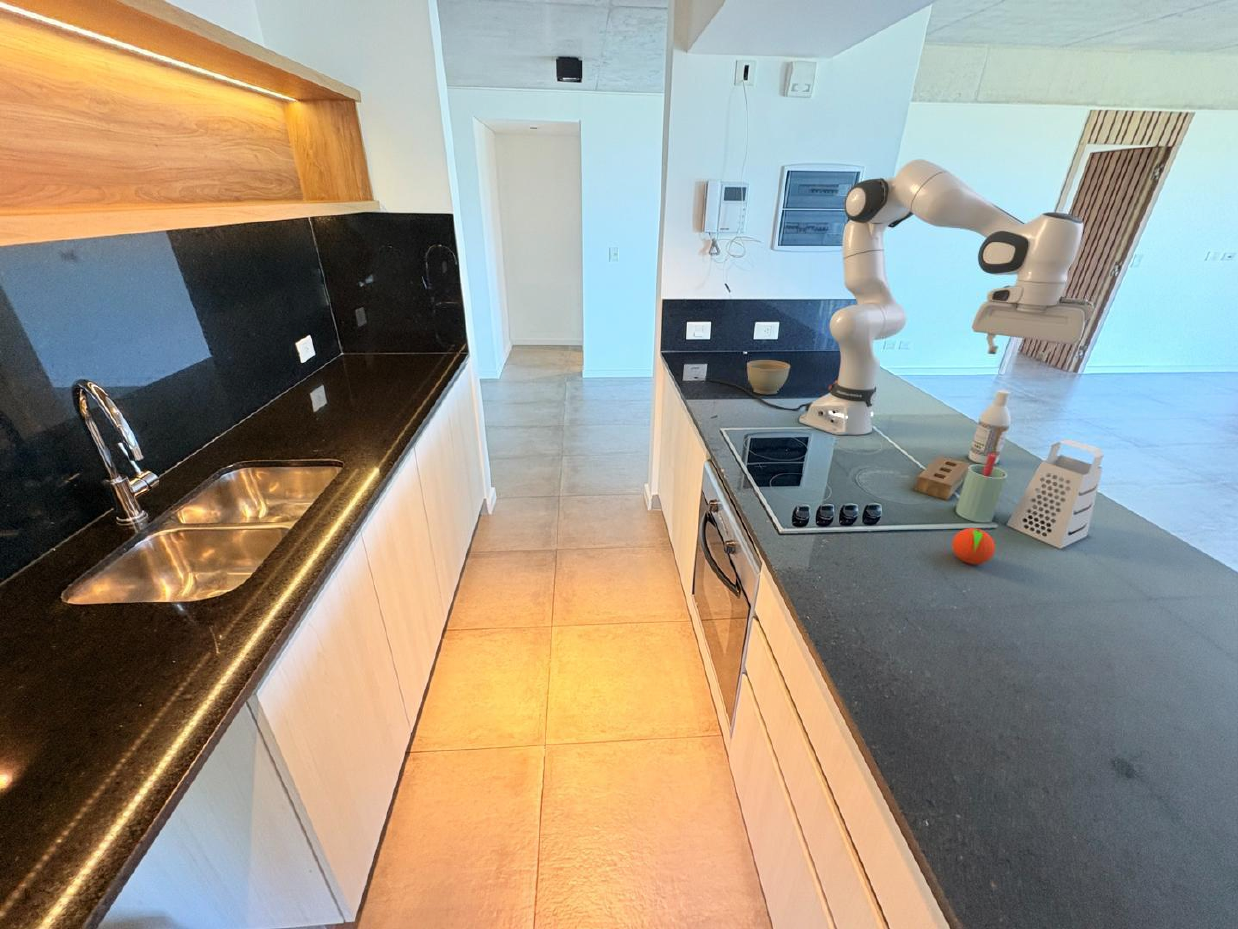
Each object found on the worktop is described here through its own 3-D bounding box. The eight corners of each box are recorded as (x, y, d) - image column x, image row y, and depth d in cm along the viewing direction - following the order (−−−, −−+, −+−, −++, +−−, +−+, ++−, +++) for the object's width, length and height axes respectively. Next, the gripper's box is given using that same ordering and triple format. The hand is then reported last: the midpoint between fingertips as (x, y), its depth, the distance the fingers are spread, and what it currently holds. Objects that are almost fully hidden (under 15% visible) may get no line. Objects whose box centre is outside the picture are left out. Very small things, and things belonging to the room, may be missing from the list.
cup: (951, 514, 121) (964, 471, 116) (960, 503, 125) (973, 461, 121) (988, 526, 116) (1003, 481, 111) (995, 514, 121) (1010, 470, 116)
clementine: (989, 578, 99) (1000, 546, 96) (947, 567, 102) (956, 535, 99) (989, 557, 105) (999, 527, 102) (949, 547, 109) (958, 517, 106)
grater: (1060, 548, 108) (1097, 459, 100) (1006, 525, 116) (1036, 441, 108) (1086, 535, 112) (1124, 449, 104) (1032, 514, 121) (1063, 432, 112)
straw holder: (914, 490, 132) (918, 476, 130) (935, 469, 143) (939, 455, 141) (947, 500, 127) (951, 485, 125) (966, 477, 138) (970, 463, 136)
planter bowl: (791, 389, 211) (795, 362, 206) (779, 400, 198) (783, 371, 194) (752, 383, 219) (755, 357, 214) (738, 393, 206) (741, 366, 202)
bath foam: (989, 467, 144) (1012, 397, 135) (963, 459, 149) (983, 390, 140) (1001, 461, 147) (1024, 392, 139) (975, 453, 152) (995, 386, 144)
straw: (970, 511, 120) (987, 455, 114) (971, 509, 121) (989, 453, 115) (977, 513, 119) (995, 457, 114) (979, 511, 120) (997, 455, 115)
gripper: (1099, 298, 111) (1074, 363, 117) (987, 288, 124) (969, 347, 130) (1095, 301, 107) (1069, 368, 113) (980, 291, 120) (962, 351, 126)
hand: (1015, 357), depth 121 cm, fingers open, 8 cm apart
